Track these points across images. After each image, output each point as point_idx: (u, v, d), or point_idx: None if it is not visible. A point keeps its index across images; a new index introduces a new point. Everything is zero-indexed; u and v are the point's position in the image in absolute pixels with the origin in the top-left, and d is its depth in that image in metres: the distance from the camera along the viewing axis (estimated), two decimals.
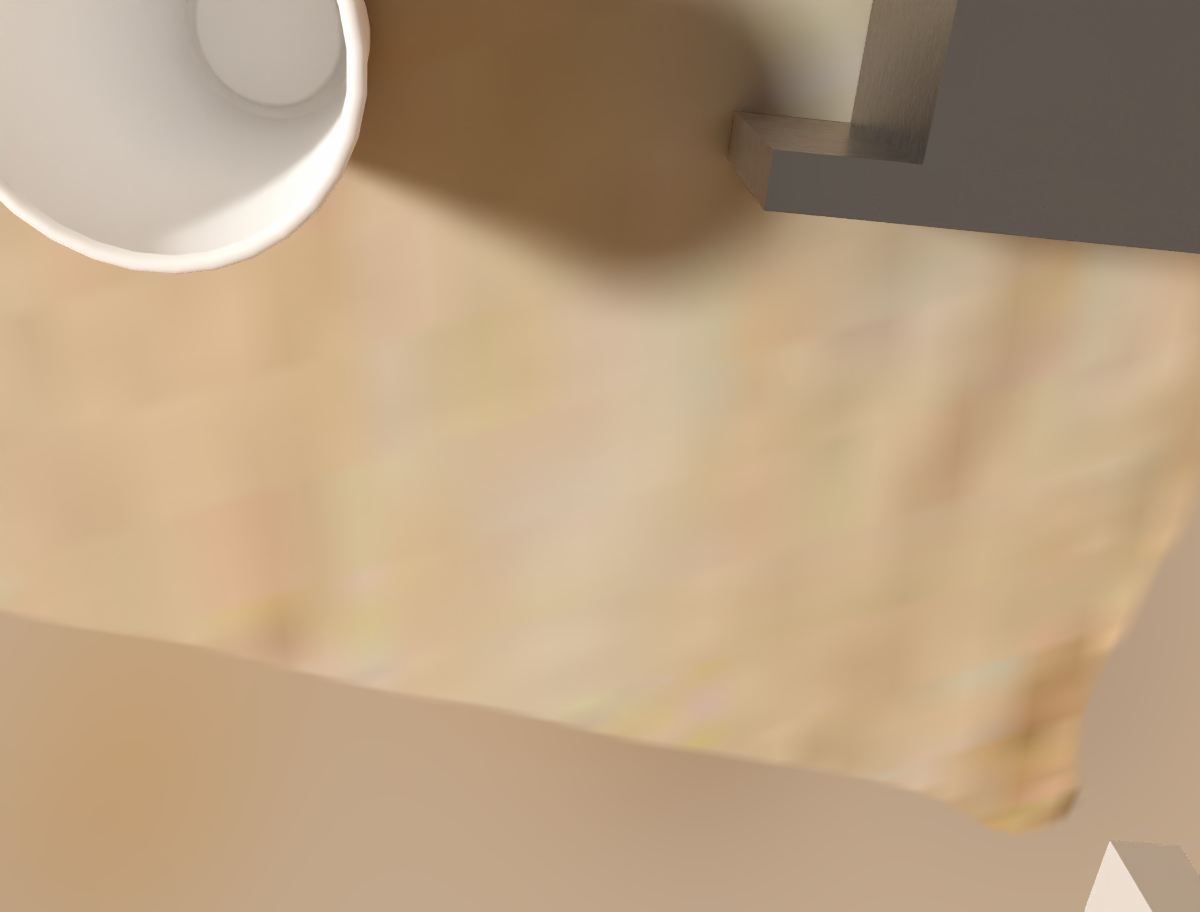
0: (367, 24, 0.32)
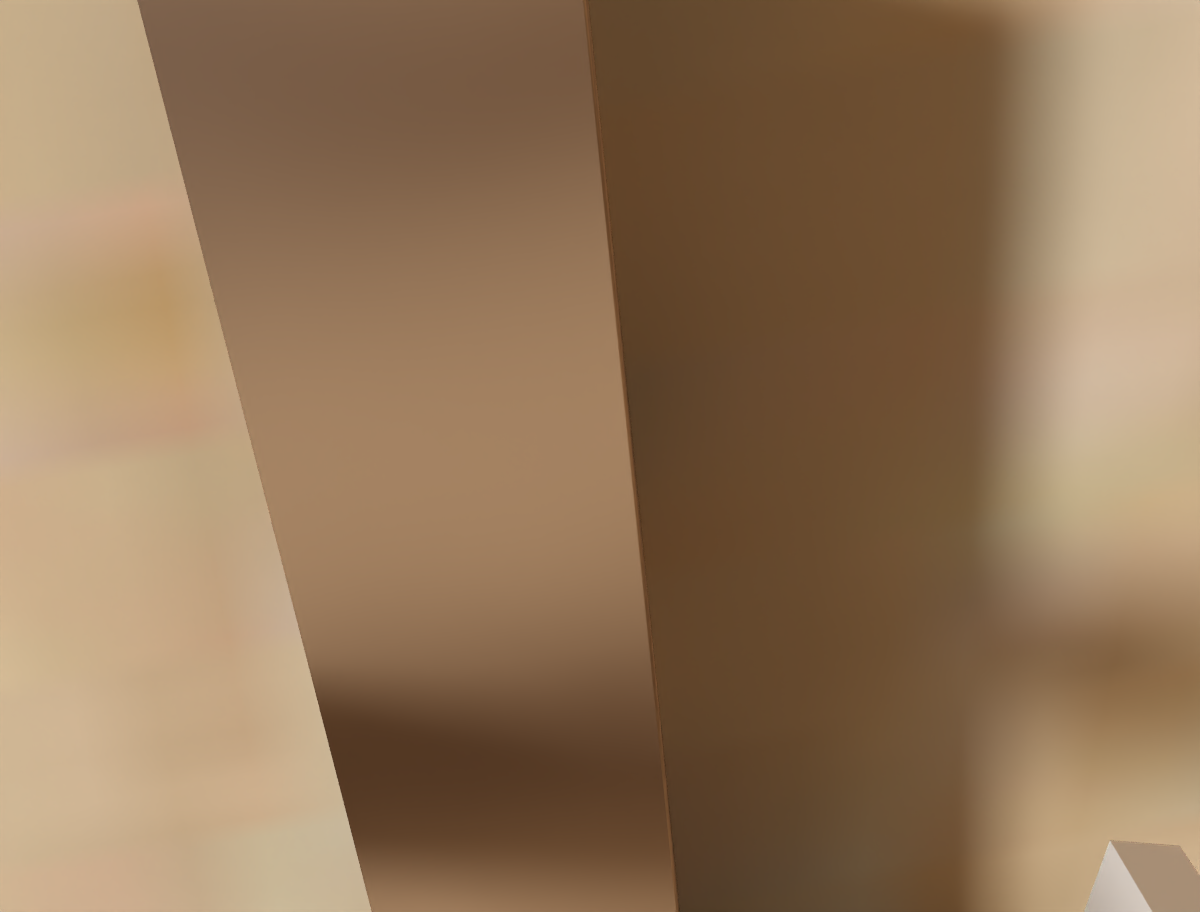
0: None
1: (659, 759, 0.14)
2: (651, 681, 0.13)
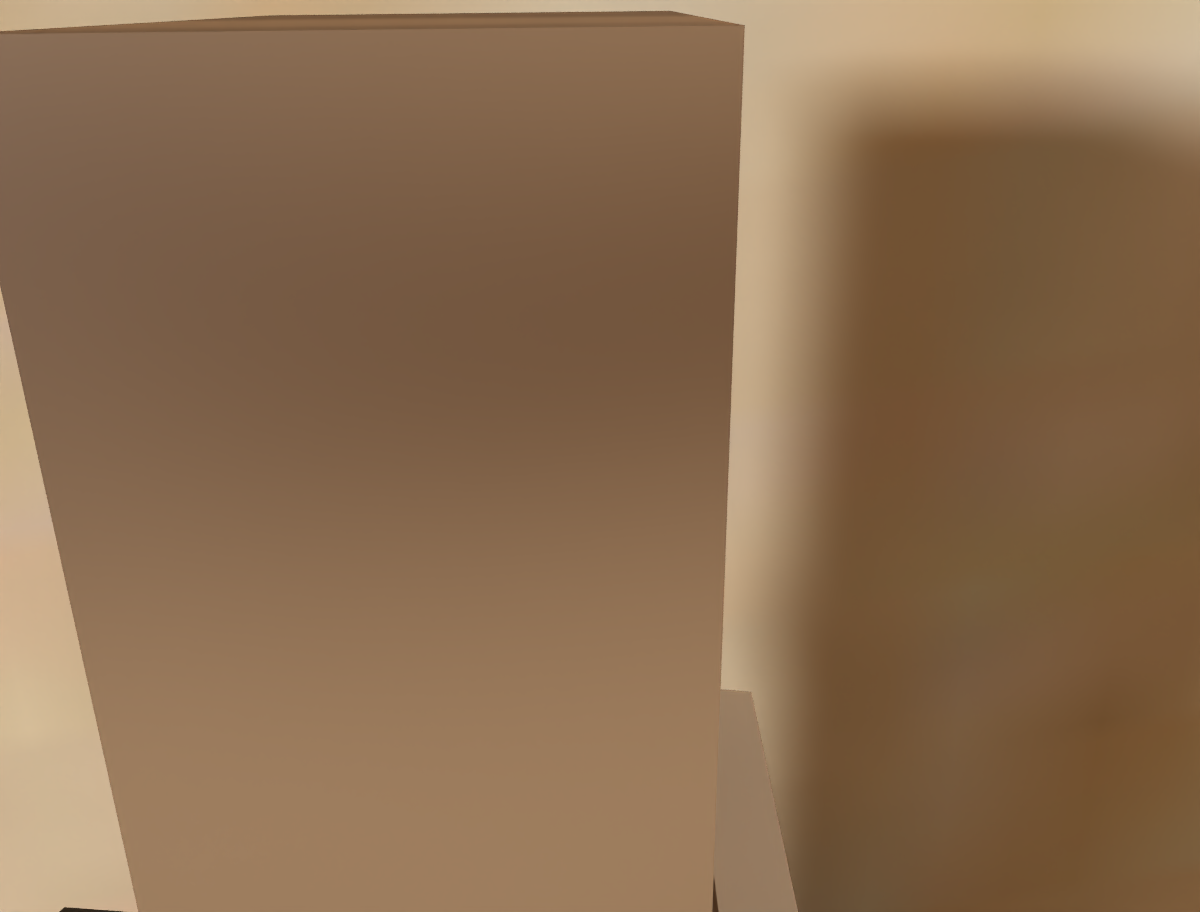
0: None
1: None
2: None
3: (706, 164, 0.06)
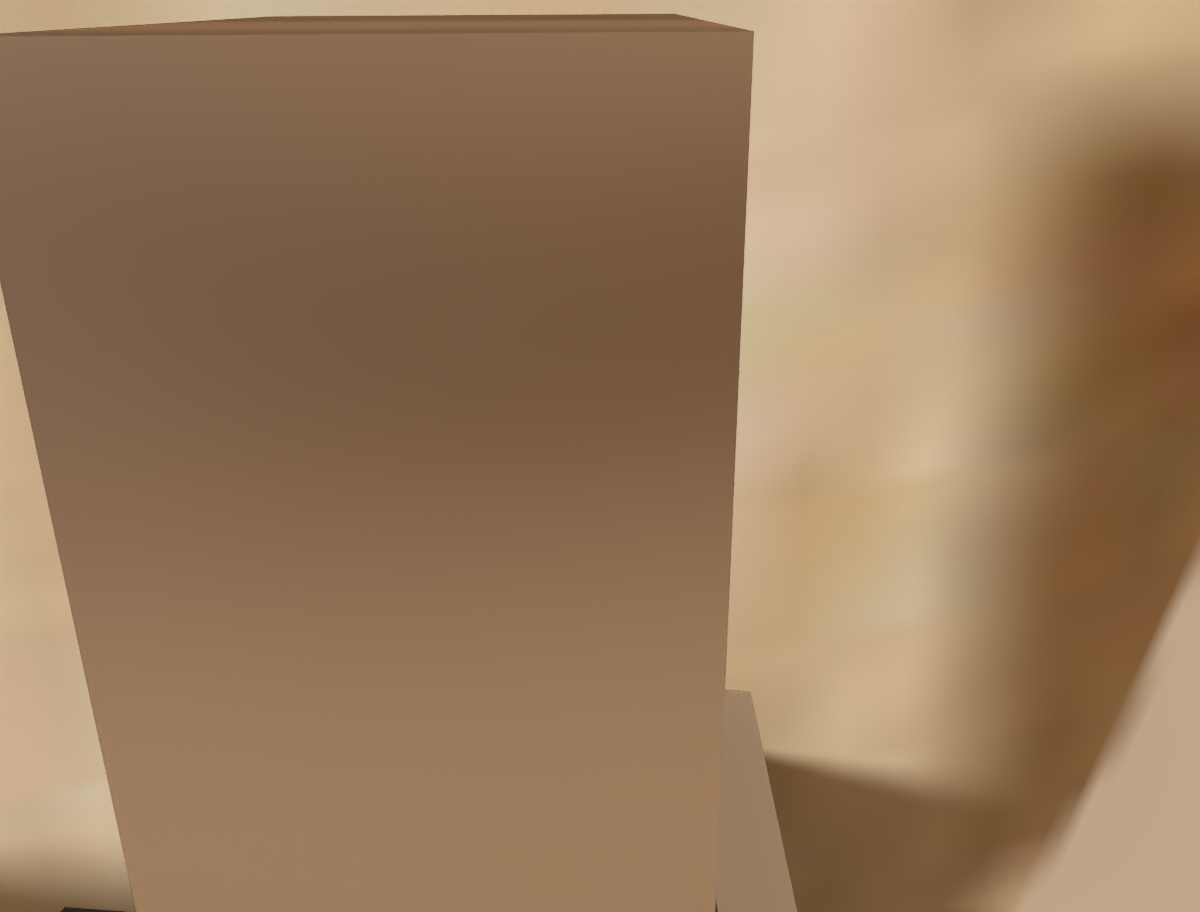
0: None
1: None
2: None
3: (713, 170, 0.06)
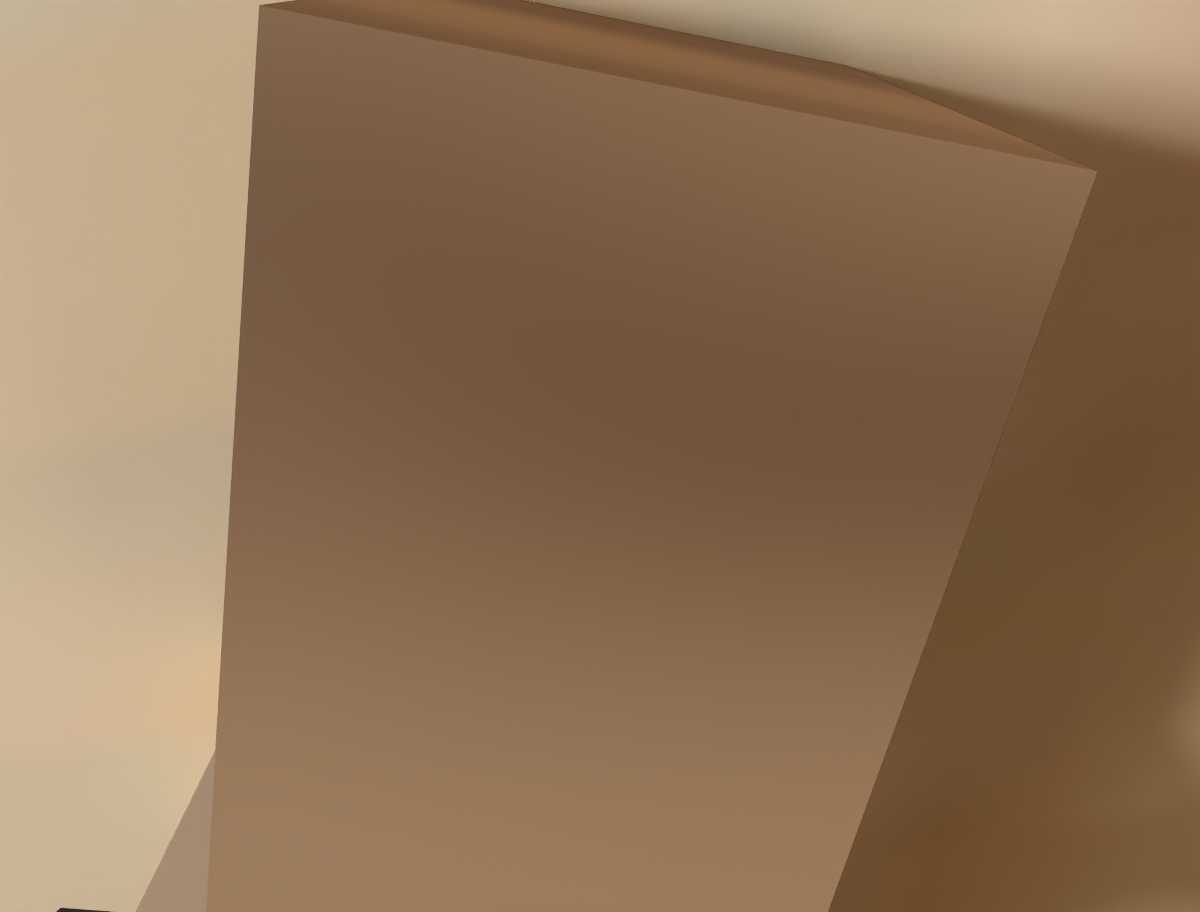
0: None
1: None
2: None
3: (1016, 299, 0.06)
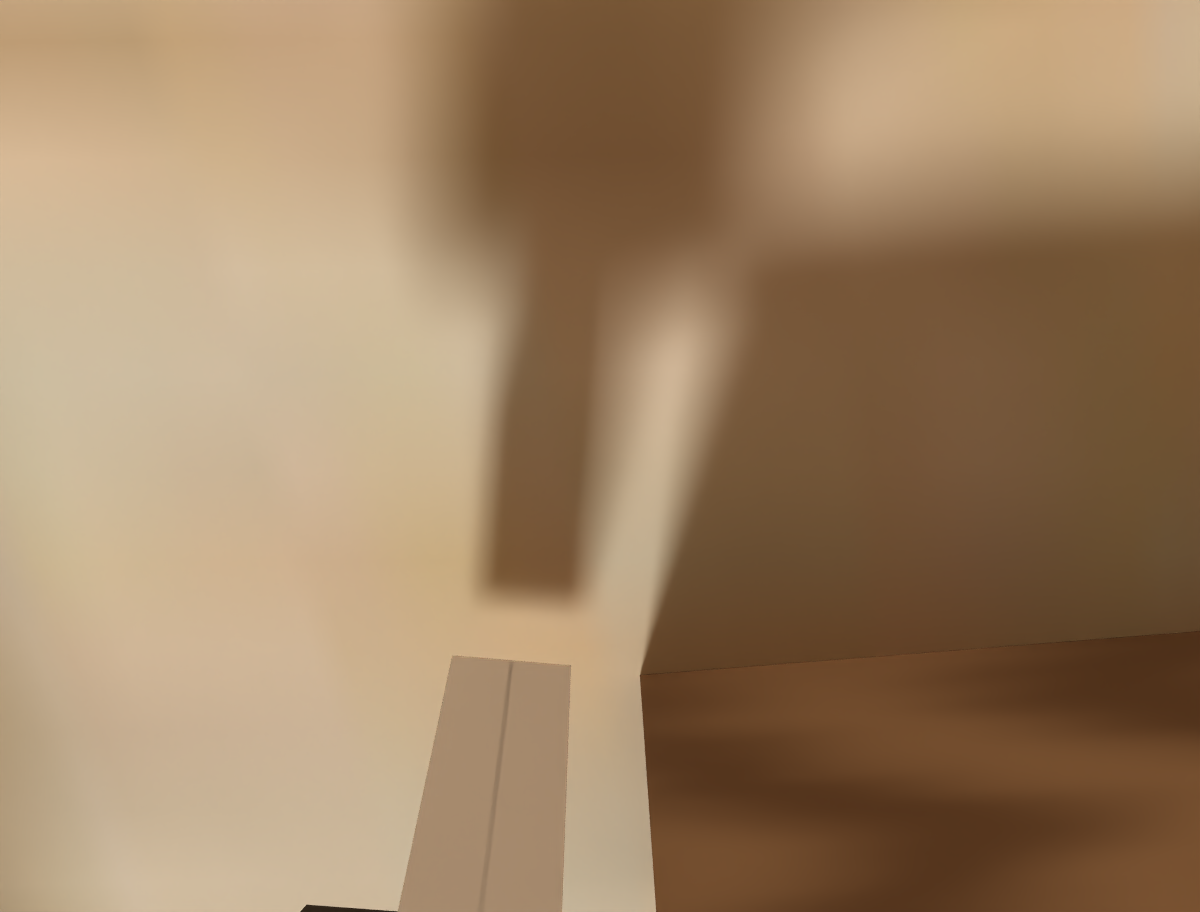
0: None
1: None
2: None
3: None
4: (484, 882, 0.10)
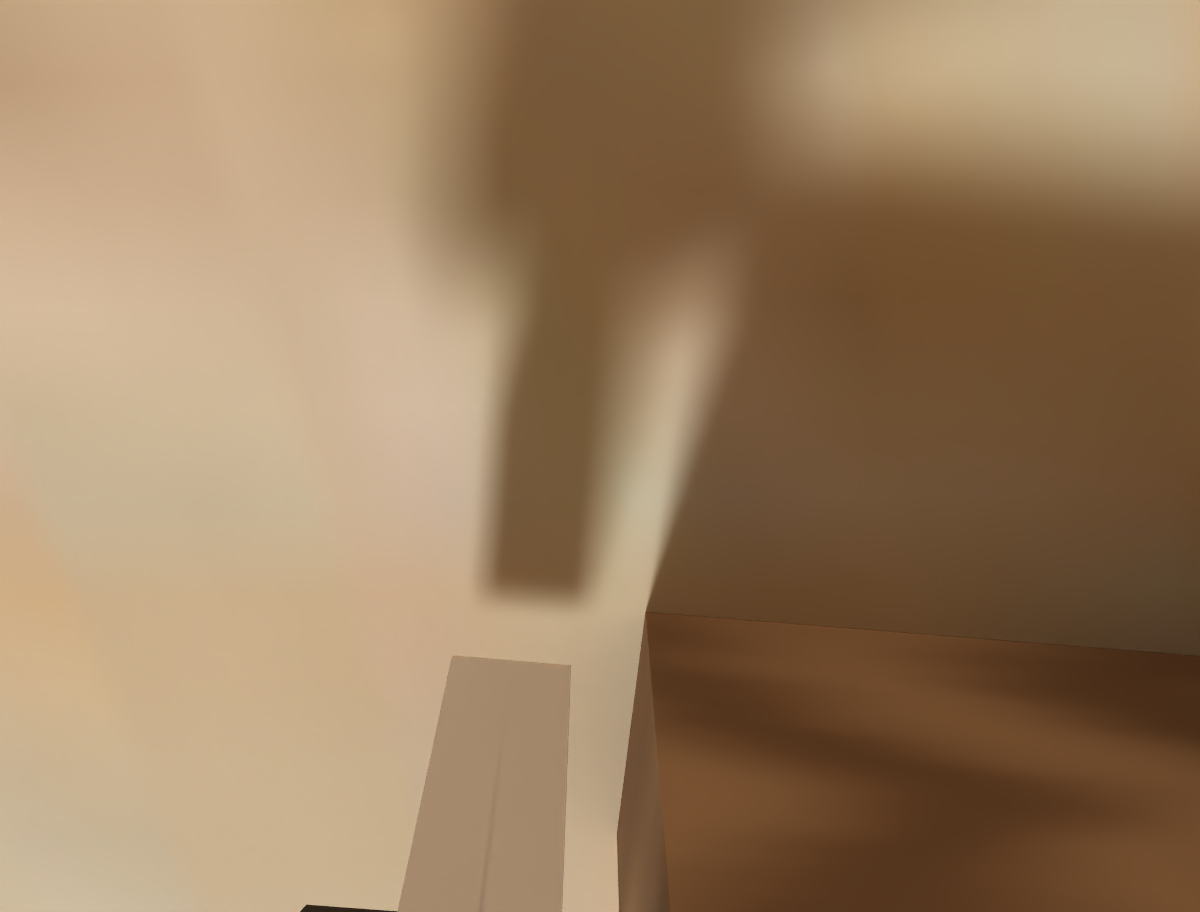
0: None
1: None
2: None
3: None
4: (484, 882, 0.10)
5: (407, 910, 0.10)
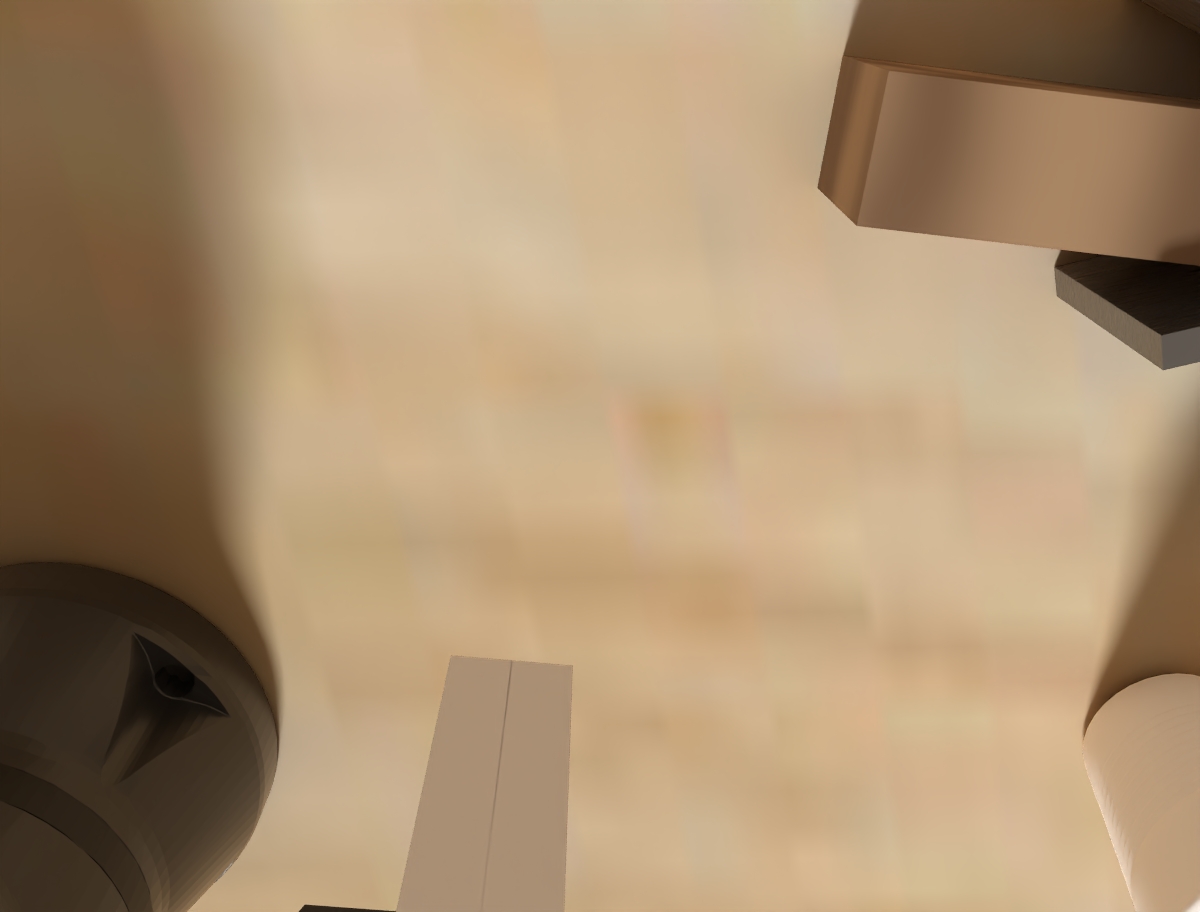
0: (1196, 694, 0.41)
1: None
2: None
3: (913, 81, 0.29)
4: (486, 882, 0.10)
5: (406, 910, 0.10)
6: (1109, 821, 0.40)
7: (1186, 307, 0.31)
